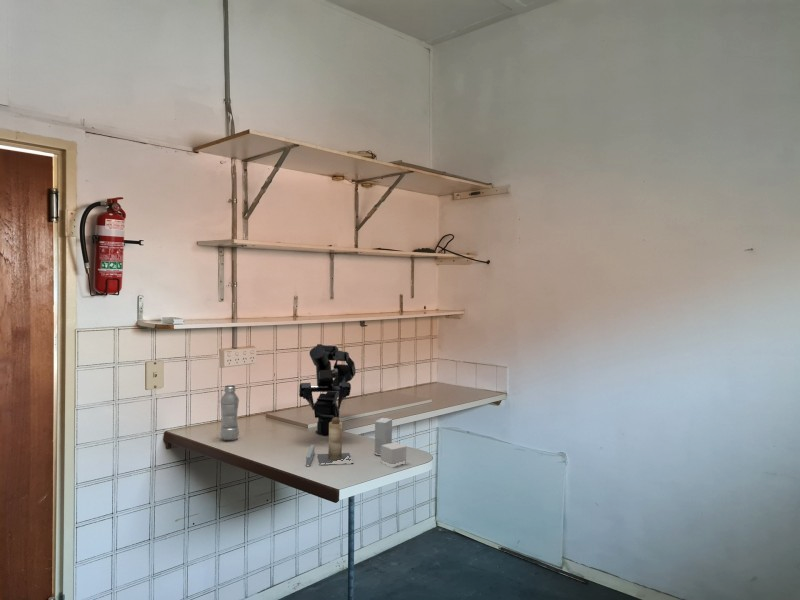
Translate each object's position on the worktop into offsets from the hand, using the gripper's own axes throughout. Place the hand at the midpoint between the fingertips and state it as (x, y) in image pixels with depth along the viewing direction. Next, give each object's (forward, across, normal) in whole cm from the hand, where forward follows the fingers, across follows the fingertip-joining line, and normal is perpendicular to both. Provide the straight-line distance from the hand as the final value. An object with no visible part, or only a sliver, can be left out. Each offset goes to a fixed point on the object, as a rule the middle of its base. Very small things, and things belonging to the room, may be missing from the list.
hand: (326, 409), depth 211 cm
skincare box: (+18, +19, +1) cm, 26 cm away
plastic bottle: (0, -34, +19) cm, 39 cm away
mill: (+20, +2, -2) cm, 21 cm away
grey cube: (+26, +20, -6) cm, 33 cm away
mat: (+21, +2, -2) cm, 21 cm away
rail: (+20, -6, -1) cm, 21 cm away
